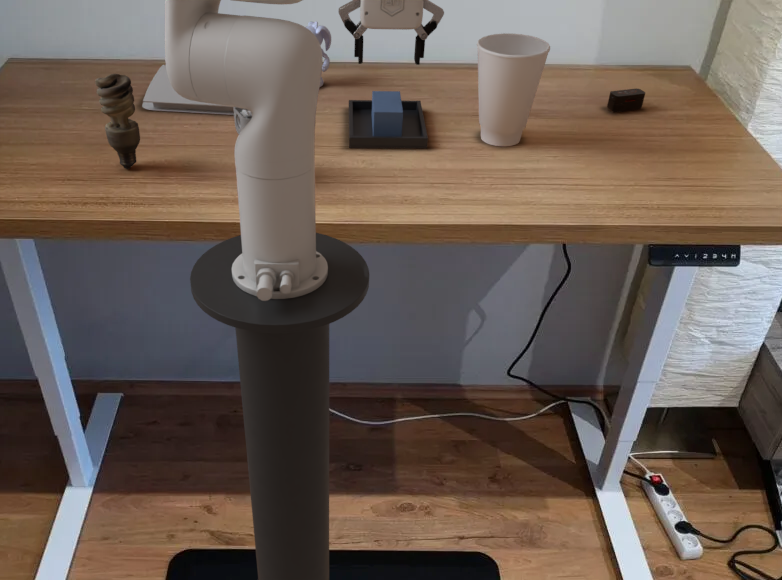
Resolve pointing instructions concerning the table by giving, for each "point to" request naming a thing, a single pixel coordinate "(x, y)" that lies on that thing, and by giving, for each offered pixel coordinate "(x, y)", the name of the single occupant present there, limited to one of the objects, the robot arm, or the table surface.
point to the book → (176, 98)
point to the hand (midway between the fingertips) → (388, 61)
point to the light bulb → (119, 116)
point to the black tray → (363, 136)
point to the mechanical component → (241, 118)
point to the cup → (508, 84)
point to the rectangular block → (387, 113)
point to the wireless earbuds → (625, 100)
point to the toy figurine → (320, 34)
